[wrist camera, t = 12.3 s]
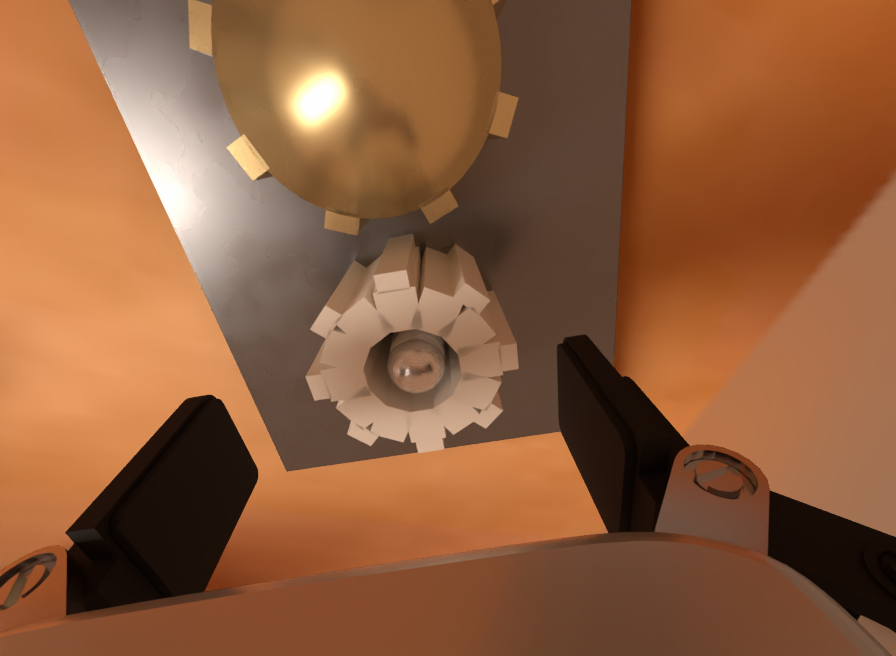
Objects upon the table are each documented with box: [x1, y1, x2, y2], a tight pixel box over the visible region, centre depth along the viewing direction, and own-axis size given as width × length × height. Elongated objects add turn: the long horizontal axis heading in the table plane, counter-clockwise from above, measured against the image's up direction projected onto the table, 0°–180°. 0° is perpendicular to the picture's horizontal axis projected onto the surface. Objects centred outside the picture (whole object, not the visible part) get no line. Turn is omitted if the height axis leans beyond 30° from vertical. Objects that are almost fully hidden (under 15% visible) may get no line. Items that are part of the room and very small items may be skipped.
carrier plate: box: [69, 0, 631, 471], centre depth 14 cm, size 24×18×7 cm
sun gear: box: [188, 0, 518, 236], centre depth 12 cm, size 9×9×3 cm
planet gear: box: [305, 234, 519, 453], centre depth 15 cm, size 7×7×5 cm
